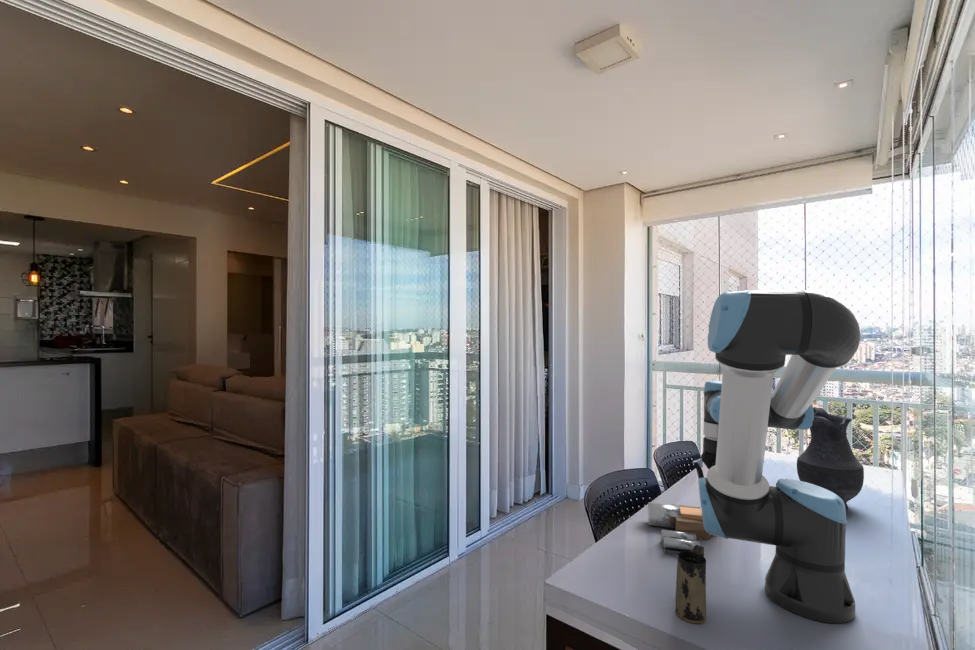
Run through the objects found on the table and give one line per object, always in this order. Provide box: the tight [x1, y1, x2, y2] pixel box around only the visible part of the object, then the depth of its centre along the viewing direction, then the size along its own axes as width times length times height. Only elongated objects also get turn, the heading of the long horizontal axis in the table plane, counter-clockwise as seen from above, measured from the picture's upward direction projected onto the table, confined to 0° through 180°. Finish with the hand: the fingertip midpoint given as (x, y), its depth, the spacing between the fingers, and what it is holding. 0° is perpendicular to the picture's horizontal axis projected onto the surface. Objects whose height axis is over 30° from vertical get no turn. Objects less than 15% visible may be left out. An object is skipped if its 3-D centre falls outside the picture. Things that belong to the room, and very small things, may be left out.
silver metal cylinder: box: [647, 502, 681, 529], centre depth 128 cm, size 8×6×6 cm
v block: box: [660, 529, 701, 556], centre depth 115 cm, size 8×7×3 cm
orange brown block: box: [680, 507, 716, 537], centre depth 126 cm, size 5×9×5 cm, turn 76°
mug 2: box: [675, 545, 708, 625], centre depth 89 cm, size 8×6×12 cm
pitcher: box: [796, 406, 865, 511], centre depth 149 cm, size 17×21×30 cm
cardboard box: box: [669, 503, 710, 540], centre depth 127 cm, size 12×8×4 cm, turn 166°
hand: (716, 523), depth 126 cm, fingers closed
